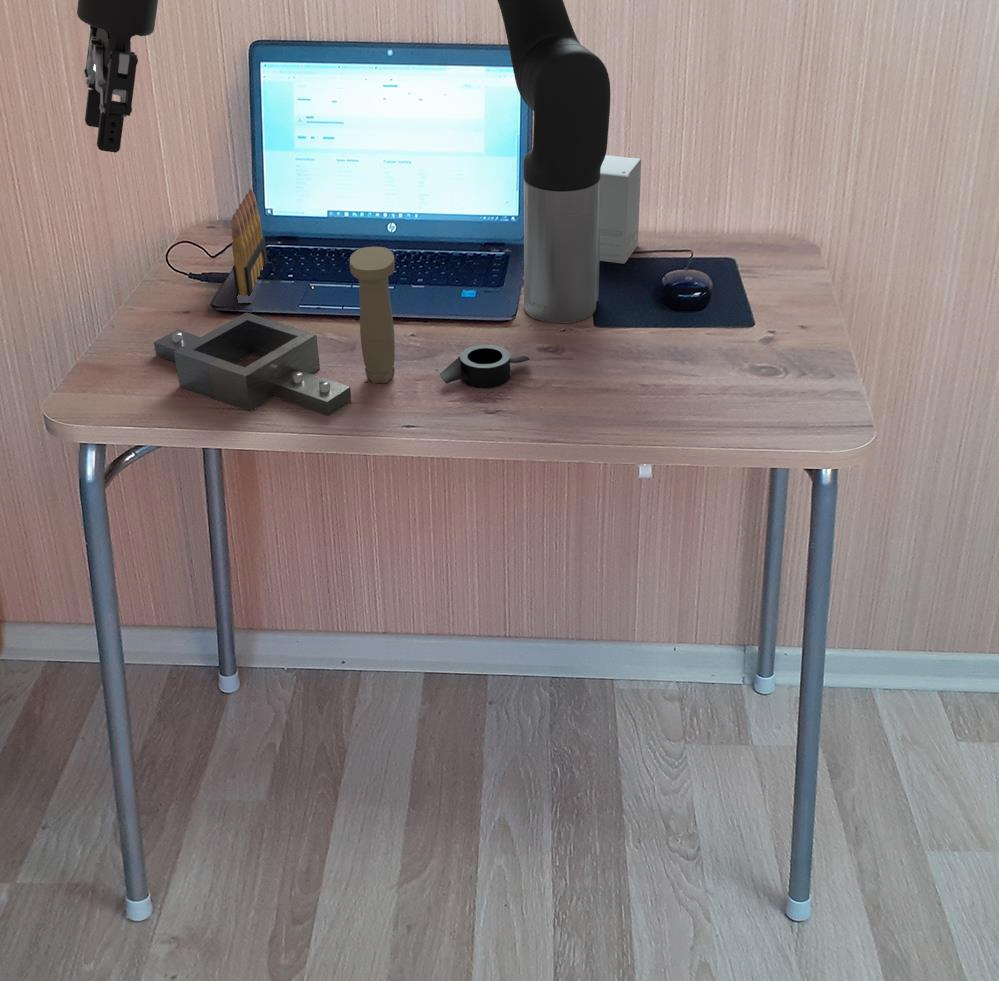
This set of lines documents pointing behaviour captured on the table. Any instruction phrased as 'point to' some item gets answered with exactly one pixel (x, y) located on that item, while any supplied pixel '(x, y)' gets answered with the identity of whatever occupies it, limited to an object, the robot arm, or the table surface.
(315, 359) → the bracket
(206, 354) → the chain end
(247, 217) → the ammunition clip
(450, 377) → the dark grey winged ring
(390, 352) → the handle
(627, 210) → the supplement box
